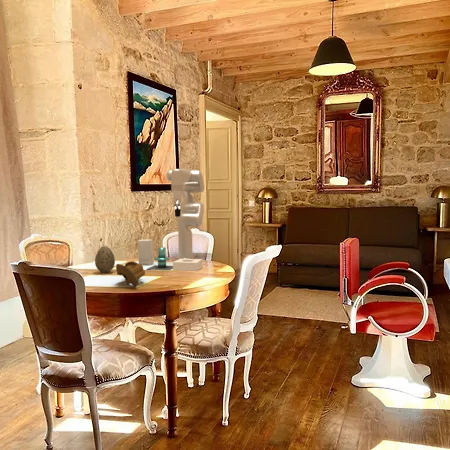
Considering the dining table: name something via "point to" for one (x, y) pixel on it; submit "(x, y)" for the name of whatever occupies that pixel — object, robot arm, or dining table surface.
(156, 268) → the mat
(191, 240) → the robot arm
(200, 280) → the dining table surface
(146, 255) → the skincare box
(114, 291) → the dining table surface
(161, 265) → the end cover
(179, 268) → the housing
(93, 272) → the dining table surface
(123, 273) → the brown looped sculpture
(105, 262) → the decorative egg
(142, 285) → the dining table surface
